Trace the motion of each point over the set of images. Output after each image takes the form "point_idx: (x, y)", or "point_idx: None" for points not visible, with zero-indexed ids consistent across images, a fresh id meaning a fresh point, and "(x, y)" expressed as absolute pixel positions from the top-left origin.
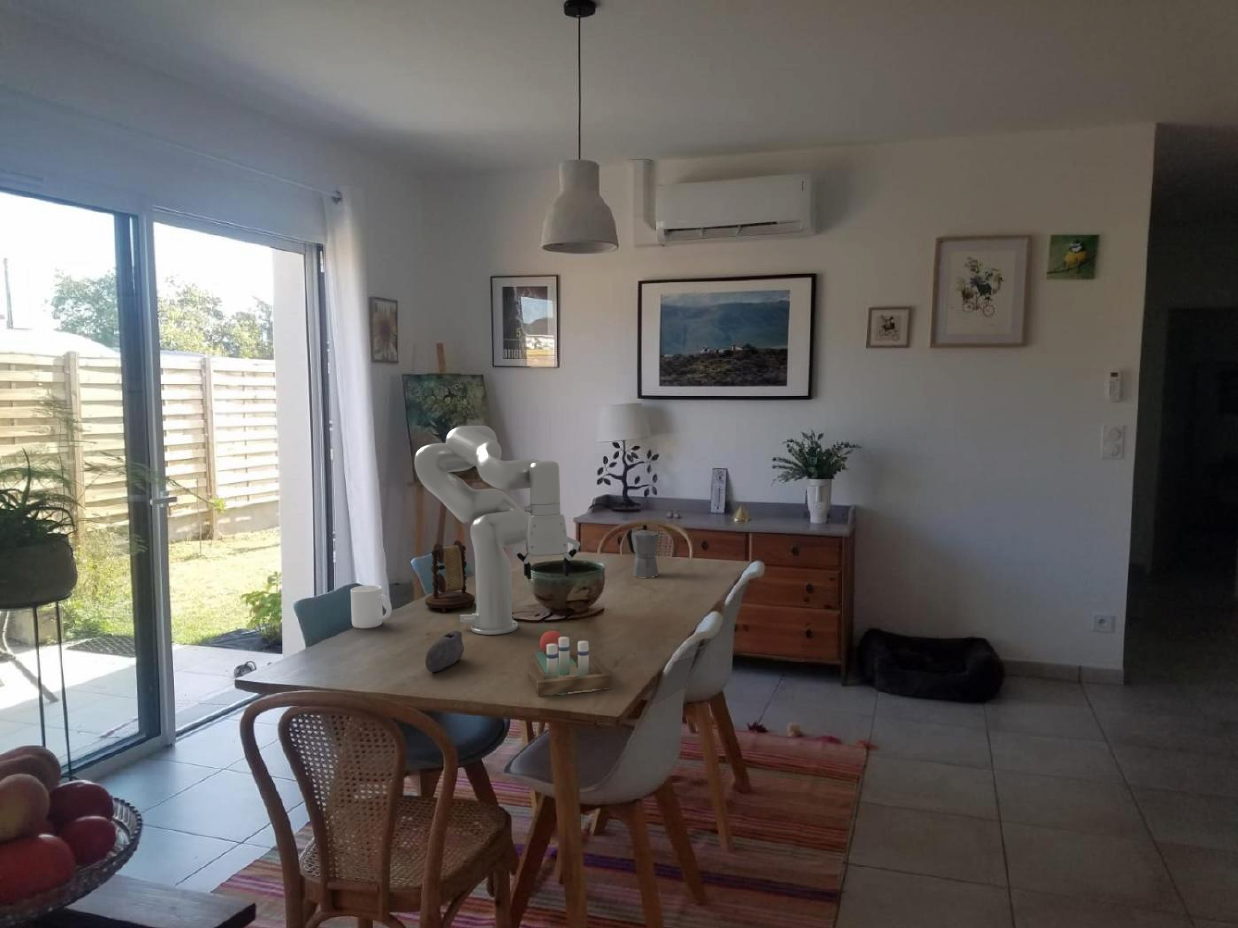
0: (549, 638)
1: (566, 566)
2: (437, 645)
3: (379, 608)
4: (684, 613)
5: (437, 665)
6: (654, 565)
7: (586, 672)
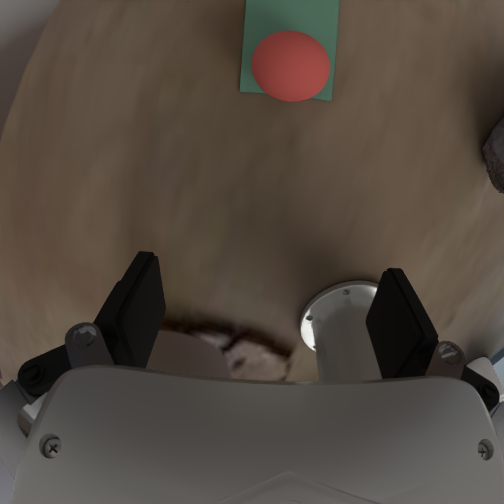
0: (309, 39)
1: (128, 289)
2: None
3: None
4: (2, 273)
5: None
6: None
7: None
